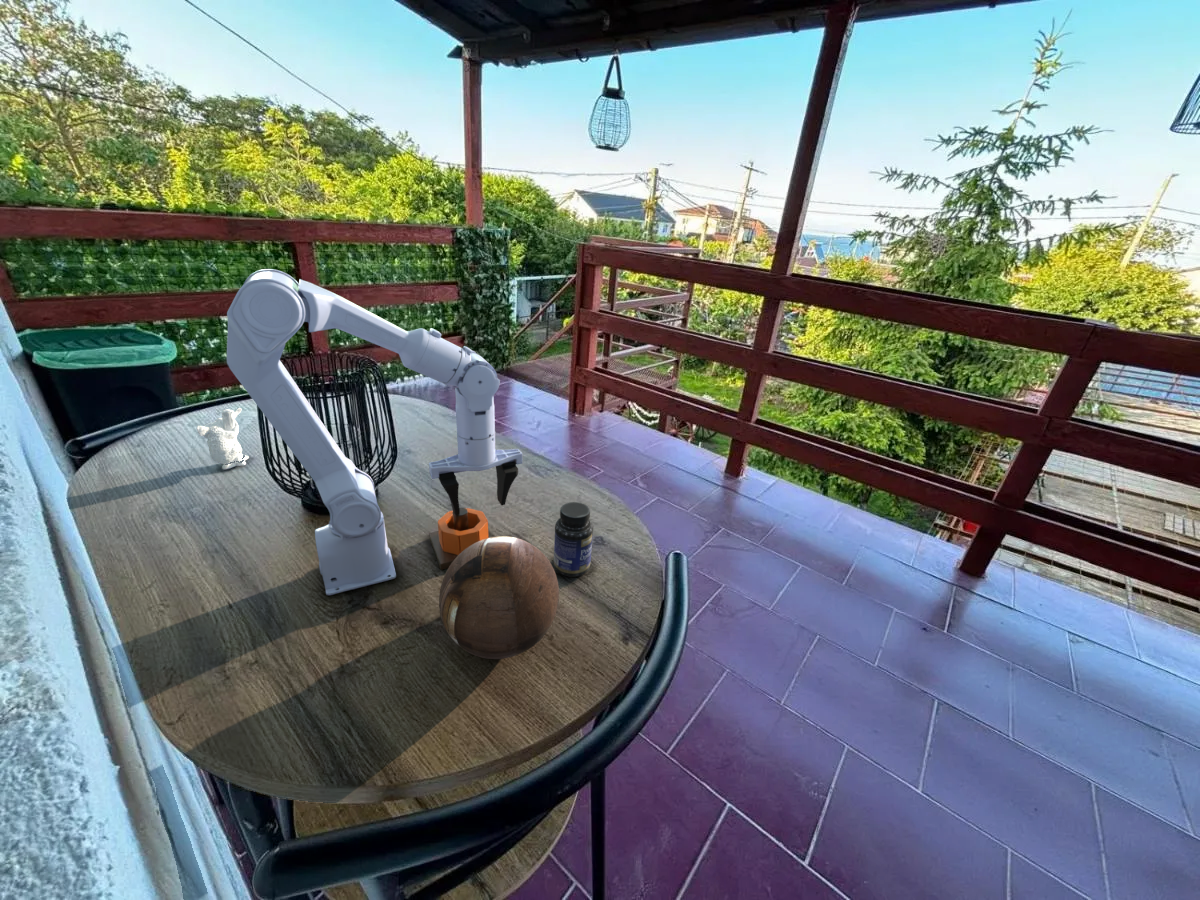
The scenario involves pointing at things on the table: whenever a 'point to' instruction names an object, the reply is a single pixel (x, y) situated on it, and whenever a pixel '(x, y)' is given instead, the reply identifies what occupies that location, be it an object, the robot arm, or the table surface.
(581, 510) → the pill bottle
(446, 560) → the peg stand
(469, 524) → the ring
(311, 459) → the robot arm
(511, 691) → the table surface
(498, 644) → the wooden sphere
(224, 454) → the white sheep figurine
